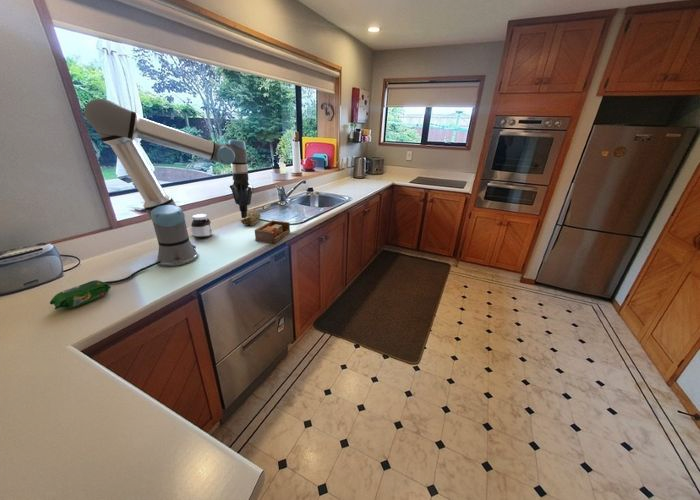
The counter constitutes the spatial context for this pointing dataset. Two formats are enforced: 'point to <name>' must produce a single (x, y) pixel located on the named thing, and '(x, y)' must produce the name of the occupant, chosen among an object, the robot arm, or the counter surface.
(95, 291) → the snack package
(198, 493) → the counter surface
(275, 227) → the wooden box
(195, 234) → the spread jar
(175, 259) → the robot arm
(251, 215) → the sponge
